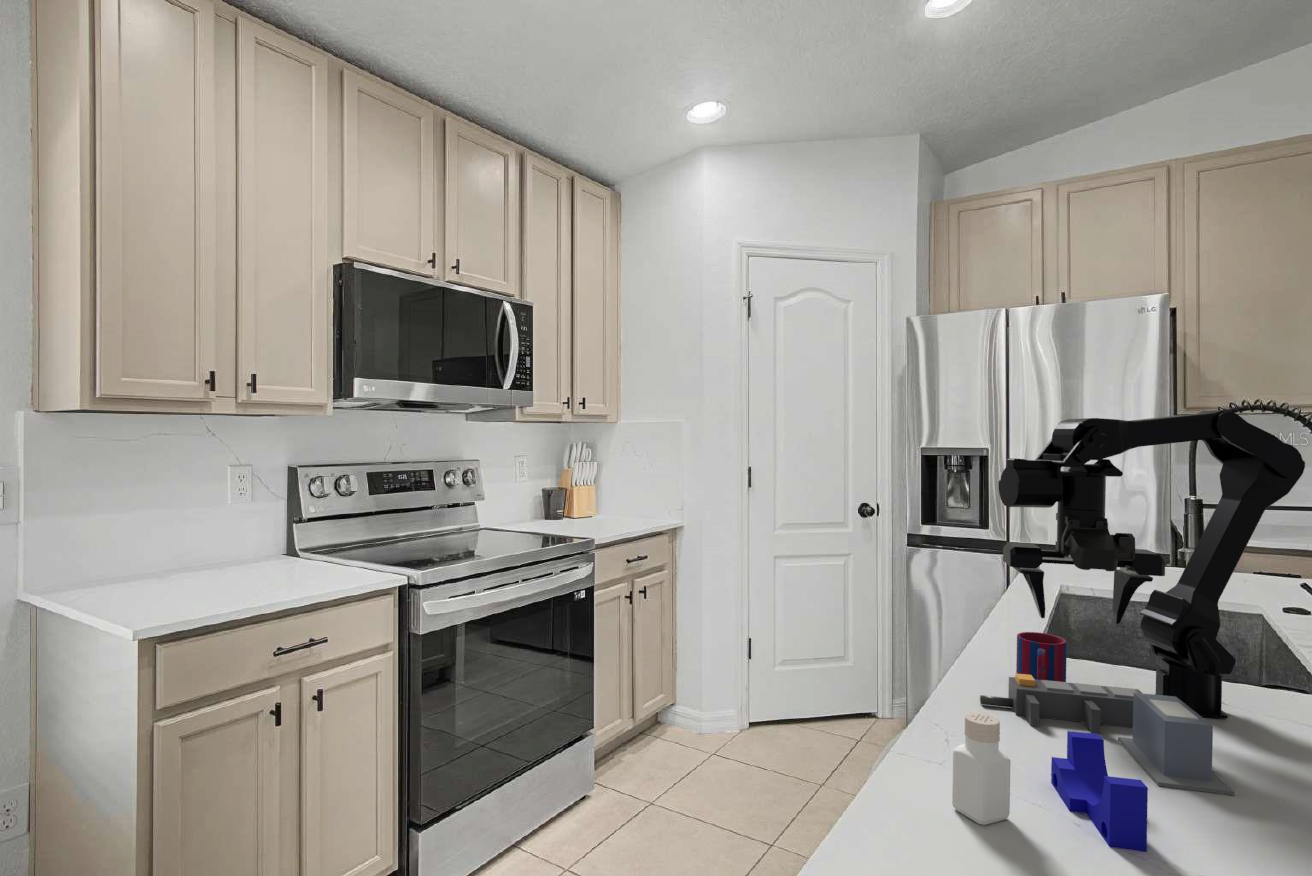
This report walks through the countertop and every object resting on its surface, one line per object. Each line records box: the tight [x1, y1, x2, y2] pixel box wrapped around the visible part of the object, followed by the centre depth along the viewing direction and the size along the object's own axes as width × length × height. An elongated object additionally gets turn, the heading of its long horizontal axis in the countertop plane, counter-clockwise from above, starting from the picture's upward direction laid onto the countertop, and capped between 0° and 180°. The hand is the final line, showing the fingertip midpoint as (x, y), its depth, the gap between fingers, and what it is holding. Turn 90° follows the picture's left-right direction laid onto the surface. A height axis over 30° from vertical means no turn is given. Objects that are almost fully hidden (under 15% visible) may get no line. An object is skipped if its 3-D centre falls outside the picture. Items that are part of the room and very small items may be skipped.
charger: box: [1132, 692, 1214, 781], centre depth 82 cm, size 4×9×6 cm, turn 165°
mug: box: [1015, 631, 1068, 682], centre depth 108 cm, size 7×10×7 cm
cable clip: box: [1050, 730, 1149, 853], centre depth 71 cm, size 12×4×6 cm, turn 167°
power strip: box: [979, 672, 1143, 735], centre depth 95 cm, size 20×8×4 cm, turn 75°
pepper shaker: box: [951, 711, 1011, 826], centre depth 70 cm, size 4×4×10 cm
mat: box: [1117, 736, 1236, 796], centre depth 82 cm, size 7×12×1 cm, turn 165°
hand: (1078, 620), depth 99 cm, fingers open, 9 cm apart
